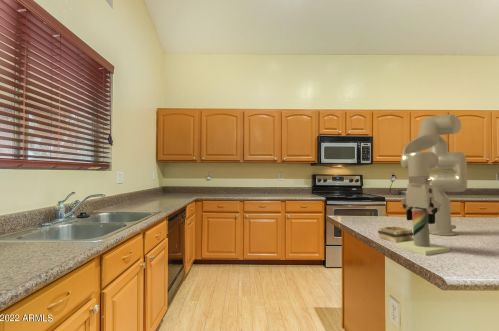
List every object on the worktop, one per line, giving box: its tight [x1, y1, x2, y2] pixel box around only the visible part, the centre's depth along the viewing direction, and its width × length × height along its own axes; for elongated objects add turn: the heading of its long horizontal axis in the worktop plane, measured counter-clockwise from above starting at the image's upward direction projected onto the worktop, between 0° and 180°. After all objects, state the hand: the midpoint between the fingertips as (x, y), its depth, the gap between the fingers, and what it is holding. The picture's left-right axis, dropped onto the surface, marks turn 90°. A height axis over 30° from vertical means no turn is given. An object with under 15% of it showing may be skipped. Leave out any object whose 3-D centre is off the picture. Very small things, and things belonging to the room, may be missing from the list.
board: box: [394, 240, 451, 256], centre depth 114 cm, size 14×14×2 cm
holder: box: [377, 226, 413, 243], centre depth 132 cm, size 11×11×5 cm
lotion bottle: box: [411, 207, 431, 247], centre depth 115 cm, size 6×6×20 cm
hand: (420, 221), depth 115 cm, fingers open, 9 cm apart
